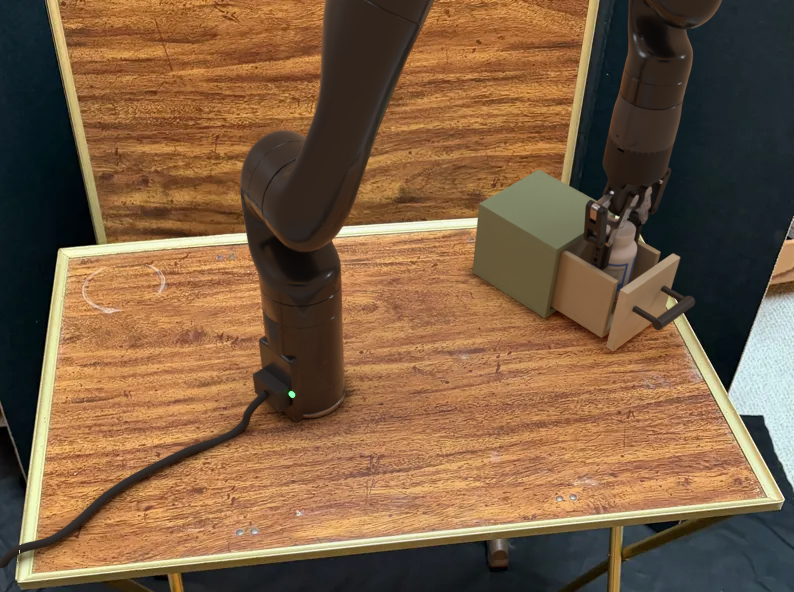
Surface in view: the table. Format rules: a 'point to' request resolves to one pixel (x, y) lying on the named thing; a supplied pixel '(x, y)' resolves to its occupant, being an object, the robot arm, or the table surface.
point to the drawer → (637, 303)
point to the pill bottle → (622, 256)
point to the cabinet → (528, 237)
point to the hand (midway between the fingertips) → (613, 255)
